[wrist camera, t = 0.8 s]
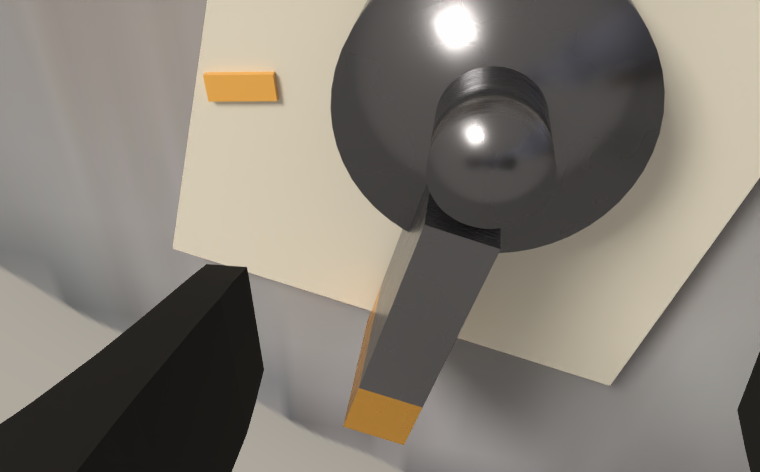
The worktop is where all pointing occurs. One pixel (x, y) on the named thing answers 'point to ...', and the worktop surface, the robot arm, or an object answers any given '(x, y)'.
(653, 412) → the worktop surface
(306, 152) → the console plate
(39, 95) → the worktop surface
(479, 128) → the lever door handle
